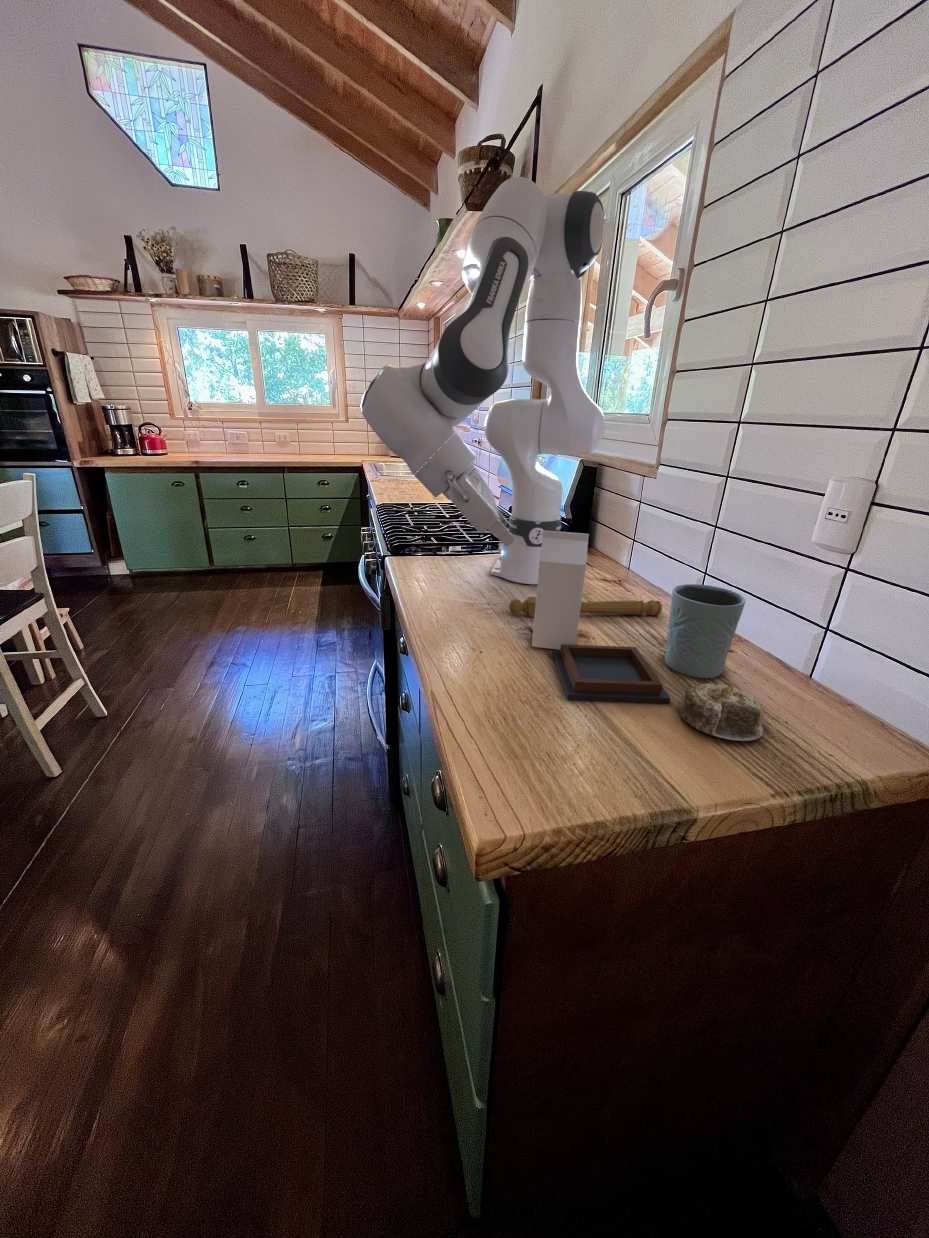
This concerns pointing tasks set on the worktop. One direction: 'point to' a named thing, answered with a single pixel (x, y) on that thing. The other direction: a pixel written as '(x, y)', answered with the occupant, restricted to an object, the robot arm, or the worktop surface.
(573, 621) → the milk carton
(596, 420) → the robot arm
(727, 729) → the cake
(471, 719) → the worktop surface
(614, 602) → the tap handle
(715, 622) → the blue plant pot
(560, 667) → the shallow square tray
